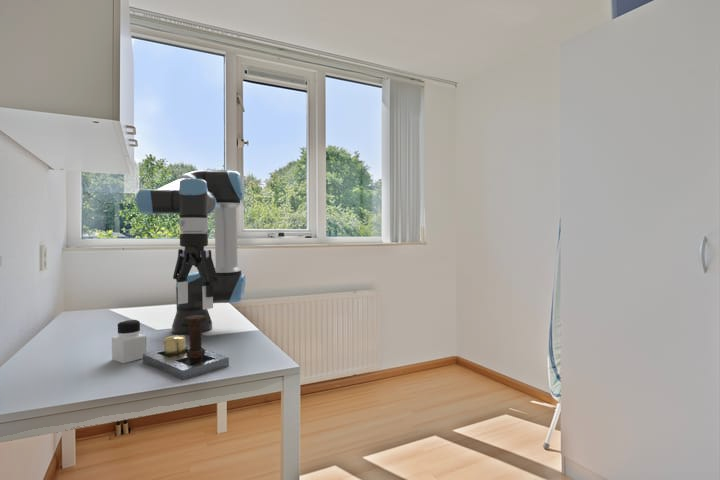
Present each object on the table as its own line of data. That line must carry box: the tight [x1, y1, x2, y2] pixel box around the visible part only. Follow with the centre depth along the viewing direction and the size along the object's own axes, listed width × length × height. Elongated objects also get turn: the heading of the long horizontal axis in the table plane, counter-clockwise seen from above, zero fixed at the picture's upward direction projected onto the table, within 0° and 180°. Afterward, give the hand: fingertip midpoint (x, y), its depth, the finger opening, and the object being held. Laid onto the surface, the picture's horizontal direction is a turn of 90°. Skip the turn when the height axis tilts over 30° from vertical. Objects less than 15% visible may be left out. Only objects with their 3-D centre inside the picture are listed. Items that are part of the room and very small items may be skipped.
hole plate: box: [142, 334, 230, 381], centre depth 119 cm, size 24×14×7 cm, turn 52°
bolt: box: [184, 315, 206, 366], centre depth 116 cm, size 6×5×15 cm
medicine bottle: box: [111, 319, 147, 364], centre depth 125 cm, size 7×7×12 cm
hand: (195, 306), depth 115 cm, fingers open, 13 cm apart
